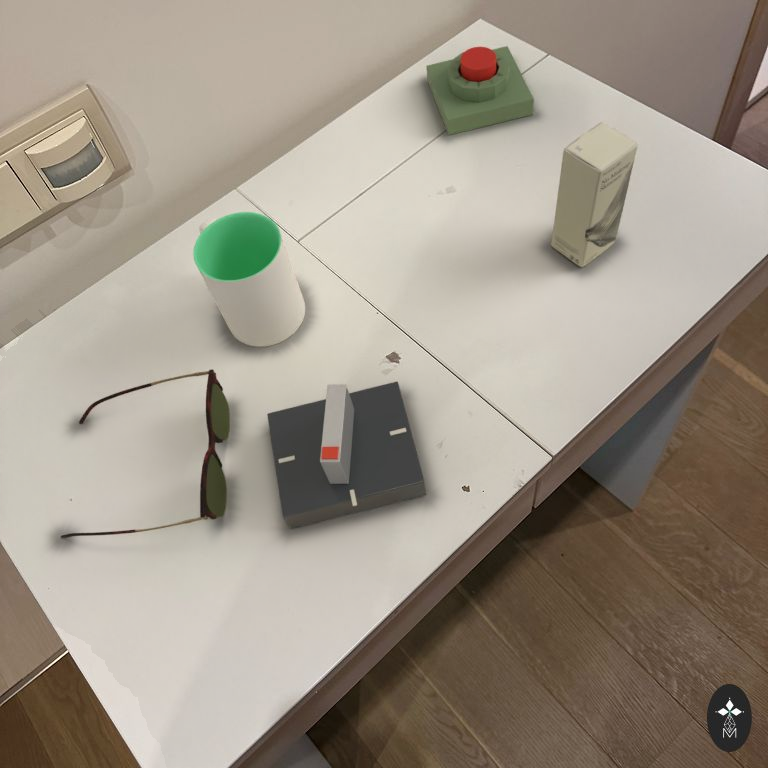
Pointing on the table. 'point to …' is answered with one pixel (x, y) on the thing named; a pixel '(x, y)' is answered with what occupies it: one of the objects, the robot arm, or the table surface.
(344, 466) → the long grey beam
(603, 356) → the table surface
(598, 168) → the box
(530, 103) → the button box
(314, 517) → the plate
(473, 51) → the button
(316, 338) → the table surface
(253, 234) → the mug
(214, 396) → the sunglasses
